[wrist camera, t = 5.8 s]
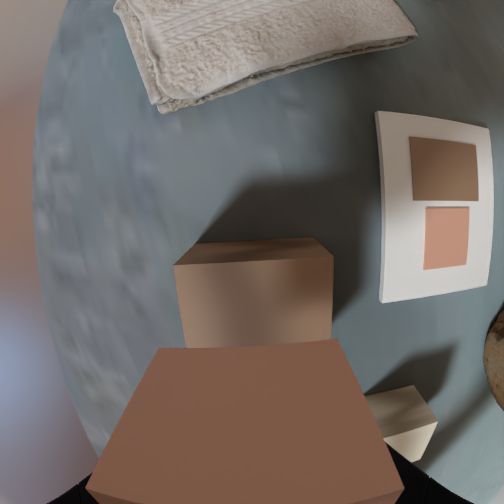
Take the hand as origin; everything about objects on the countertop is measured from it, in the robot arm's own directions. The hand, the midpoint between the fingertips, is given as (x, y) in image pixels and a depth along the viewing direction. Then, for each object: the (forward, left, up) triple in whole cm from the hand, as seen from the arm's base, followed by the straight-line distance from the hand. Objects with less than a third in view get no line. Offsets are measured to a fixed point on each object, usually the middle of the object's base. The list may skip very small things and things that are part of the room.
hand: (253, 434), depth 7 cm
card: (-13, -5, -11) cm, 18 cm away
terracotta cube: (0, 0, -1) cm, 1 cm away
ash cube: (-10, +12, -11) cm, 19 cm away
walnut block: (0, 0, -11) cm, 11 cm away
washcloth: (-2, -19, -12) cm, 23 cm away
